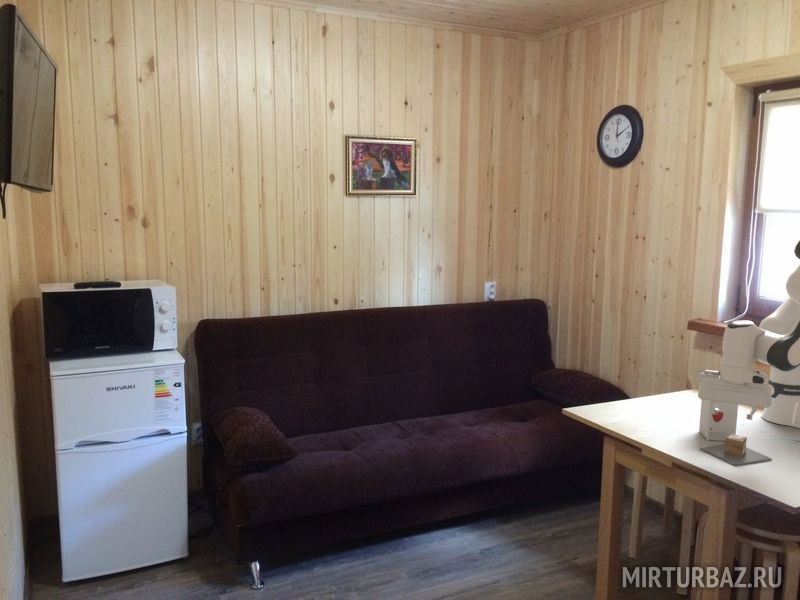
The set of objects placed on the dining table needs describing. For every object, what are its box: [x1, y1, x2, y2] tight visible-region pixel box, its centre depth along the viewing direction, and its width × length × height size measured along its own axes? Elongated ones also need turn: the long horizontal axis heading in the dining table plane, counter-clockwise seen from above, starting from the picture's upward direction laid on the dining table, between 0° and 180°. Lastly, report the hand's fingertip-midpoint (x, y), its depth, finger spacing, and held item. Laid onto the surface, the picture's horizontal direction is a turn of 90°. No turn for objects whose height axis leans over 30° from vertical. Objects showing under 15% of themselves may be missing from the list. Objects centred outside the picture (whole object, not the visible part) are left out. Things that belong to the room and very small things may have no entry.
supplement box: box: [698, 399, 739, 442], centre depth 218 cm, size 9×9×15 cm
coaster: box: [699, 443, 773, 467], centre depth 203 cm, size 14×14×1 cm
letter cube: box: [724, 434, 748, 457], centre depth 203 cm, size 5×5×5 cm
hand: (732, 416), depth 203 cm, fingers open, 8 cm apart
